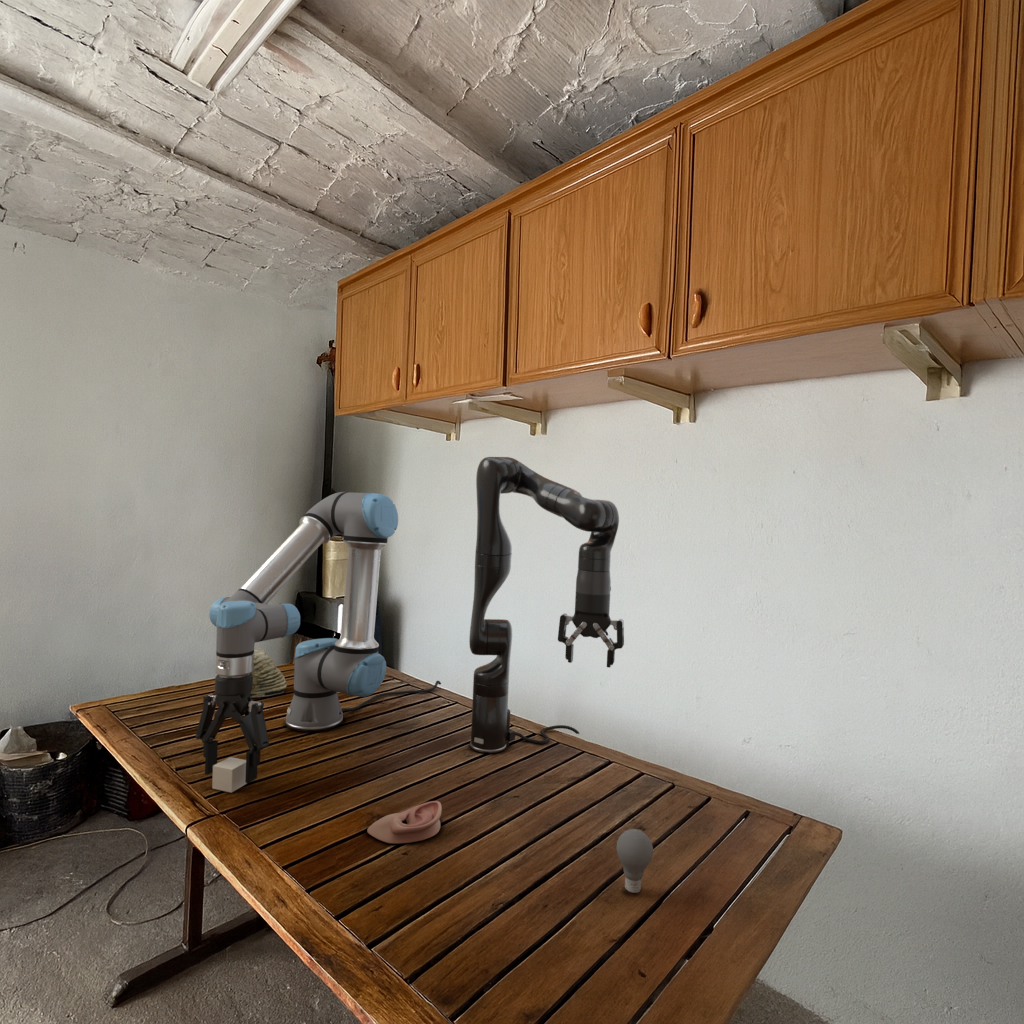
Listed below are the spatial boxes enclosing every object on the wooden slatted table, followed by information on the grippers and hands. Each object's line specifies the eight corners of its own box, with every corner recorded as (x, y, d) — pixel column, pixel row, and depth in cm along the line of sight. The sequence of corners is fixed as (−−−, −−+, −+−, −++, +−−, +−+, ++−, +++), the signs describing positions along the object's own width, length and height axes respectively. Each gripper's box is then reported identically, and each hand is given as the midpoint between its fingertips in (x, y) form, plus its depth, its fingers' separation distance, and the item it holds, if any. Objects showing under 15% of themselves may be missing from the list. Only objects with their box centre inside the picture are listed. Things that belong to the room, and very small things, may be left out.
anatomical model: (360, 817, 118) (385, 790, 129) (359, 839, 118) (384, 809, 129) (428, 828, 115) (447, 799, 126) (427, 850, 115) (446, 819, 126)
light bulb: (610, 879, 108) (613, 822, 108) (644, 879, 109) (647, 822, 109) (619, 902, 102) (622, 840, 102) (655, 901, 103) (658, 840, 103)
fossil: (218, 695, 195) (220, 647, 195) (278, 685, 208) (279, 640, 207) (228, 703, 189) (230, 653, 188) (289, 692, 201) (290, 645, 201)
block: (211, 788, 135) (212, 765, 135) (229, 778, 140) (229, 756, 140) (231, 792, 134) (232, 769, 134) (248, 782, 139) (249, 760, 139)
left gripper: (178, 671, 136) (175, 774, 137) (266, 684, 130) (262, 792, 130) (205, 663, 143) (201, 761, 144) (289, 675, 137) (285, 777, 137)
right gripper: (557, 590, 137) (554, 664, 137) (623, 595, 133) (620, 672, 133) (564, 586, 144) (561, 656, 144) (627, 591, 140) (624, 664, 140)
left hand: (230, 776), depth 137 cm, fingers open, 10 cm apart
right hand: (589, 664), depth 139 cm, fingers open, 8 cm apart
